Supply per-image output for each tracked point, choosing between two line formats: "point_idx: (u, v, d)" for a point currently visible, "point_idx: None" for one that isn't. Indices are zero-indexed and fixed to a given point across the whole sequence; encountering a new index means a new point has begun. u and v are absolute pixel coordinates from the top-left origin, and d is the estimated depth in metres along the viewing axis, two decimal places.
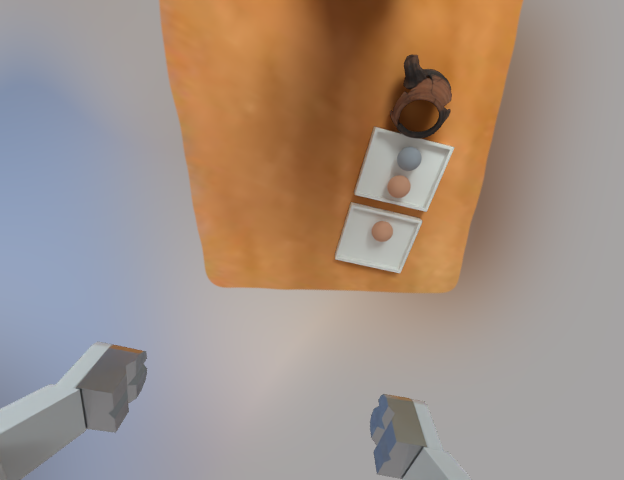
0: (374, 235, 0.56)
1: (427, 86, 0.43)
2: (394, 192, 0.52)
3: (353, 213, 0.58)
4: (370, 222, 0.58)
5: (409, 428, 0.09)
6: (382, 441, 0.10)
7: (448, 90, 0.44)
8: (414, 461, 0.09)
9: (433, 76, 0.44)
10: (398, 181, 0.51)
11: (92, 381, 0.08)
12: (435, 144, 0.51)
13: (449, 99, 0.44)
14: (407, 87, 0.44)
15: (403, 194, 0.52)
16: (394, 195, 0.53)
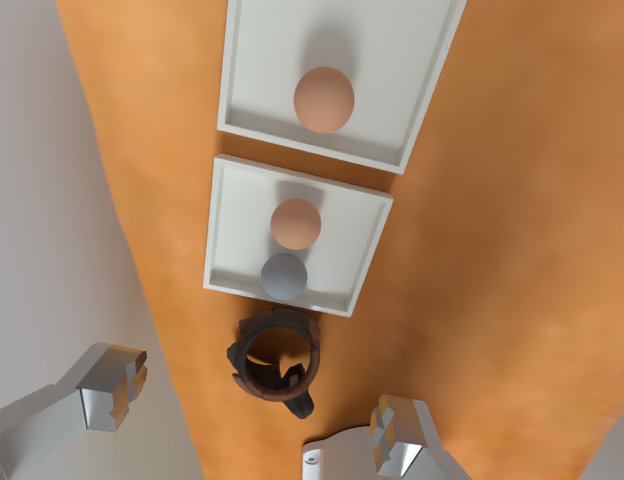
0: (350, 94, 0.18)
1: None
2: (309, 226, 0.22)
3: (395, 142, 0.23)
4: (350, 116, 0.22)
5: (409, 428, 0.09)
6: (382, 441, 0.10)
7: (241, 387, 0.28)
8: (414, 461, 0.09)
9: None
10: (301, 246, 0.23)
11: (92, 381, 0.08)
12: (239, 292, 0.27)
13: (235, 379, 0.27)
14: None
15: (286, 221, 0.22)
16: (306, 215, 0.22)
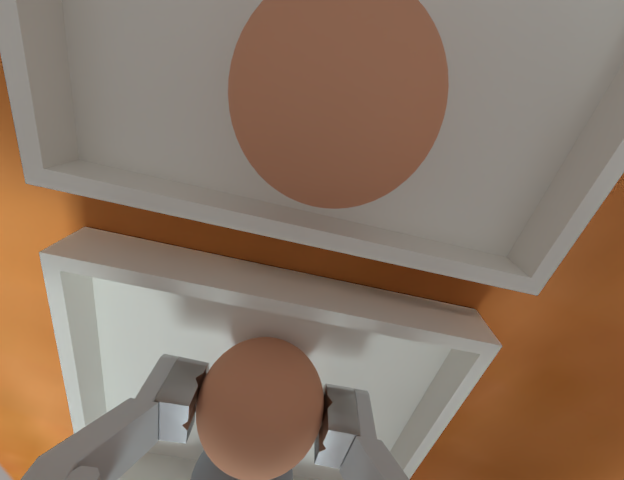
0: (443, 79, 0.05)
1: None
2: (292, 444, 0.08)
3: (515, 210, 0.09)
4: None
5: (345, 417, 0.09)
6: (321, 431, 0.09)
7: None
8: (349, 450, 0.09)
9: None
10: None
11: (168, 394, 0.08)
12: None
13: None
14: None
15: (228, 437, 0.08)
16: (284, 414, 0.08)
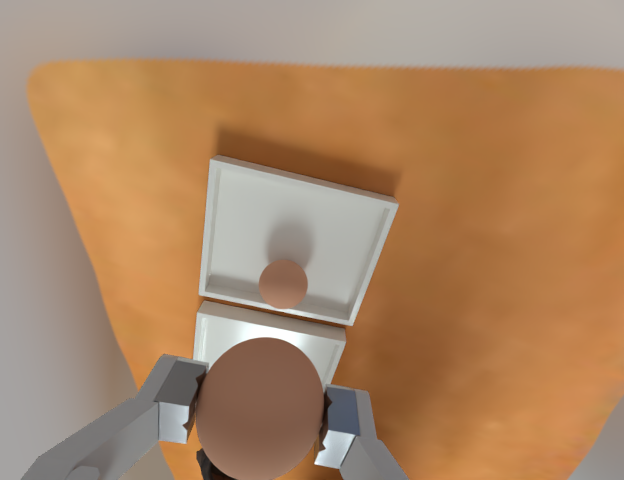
0: (302, 287, 0.23)
1: None
2: (292, 444, 0.08)
3: (346, 298, 0.27)
4: (308, 281, 0.27)
5: (345, 417, 0.09)
6: (321, 431, 0.09)
7: None
8: (349, 450, 0.09)
9: None
10: None
11: (168, 394, 0.08)
12: None
13: None
14: None
15: (228, 437, 0.08)
16: (284, 414, 0.08)
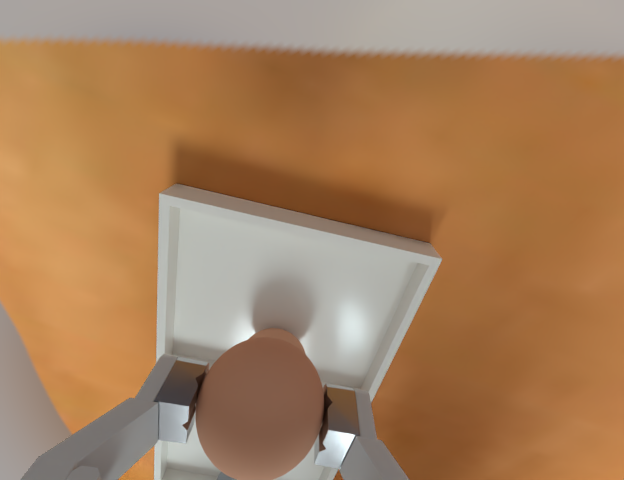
0: None
1: None
2: (292, 444, 0.08)
3: (359, 372, 0.20)
4: (308, 351, 0.19)
5: (345, 417, 0.09)
6: (321, 431, 0.09)
7: None
8: (349, 450, 0.09)
9: None
10: None
11: (168, 394, 0.08)
12: None
13: None
14: None
15: (228, 437, 0.08)
16: (284, 414, 0.08)
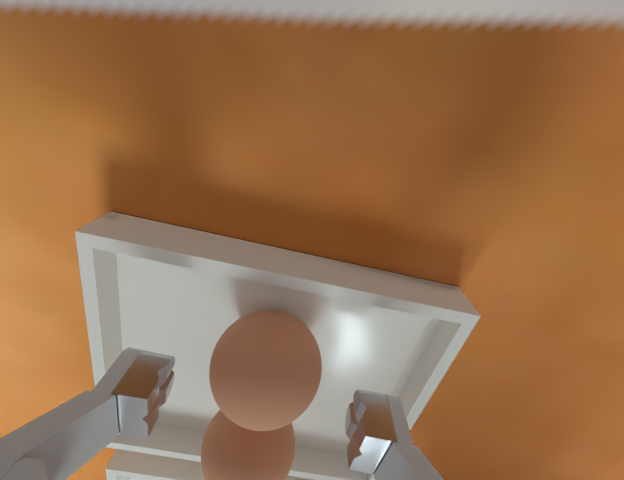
0: (283, 468, 0.12)
1: None
2: (292, 396, 0.09)
3: None
4: None
5: (380, 423, 0.09)
6: (354, 436, 0.09)
7: None
8: (384, 456, 0.09)
9: None
10: (276, 428, 0.10)
11: (127, 387, 0.08)
12: None
13: None
14: None
15: (237, 387, 0.09)
16: (285, 370, 0.09)
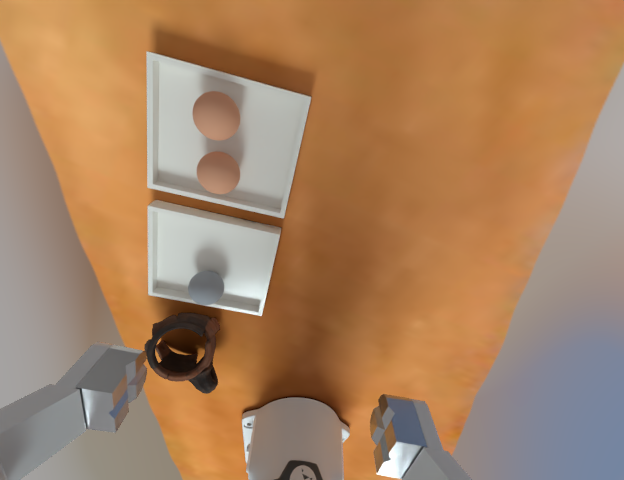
0: (232, 172, 0.27)
1: None
2: (216, 110, 0.24)
3: (278, 195, 0.32)
4: (244, 177, 0.31)
5: (409, 428, 0.09)
6: (382, 441, 0.10)
7: None
8: (414, 461, 0.09)
9: None
10: (212, 132, 0.25)
11: (92, 381, 0.08)
12: (175, 298, 0.37)
13: None
14: (205, 371, 0.38)
15: (198, 104, 0.24)
16: (215, 100, 0.24)
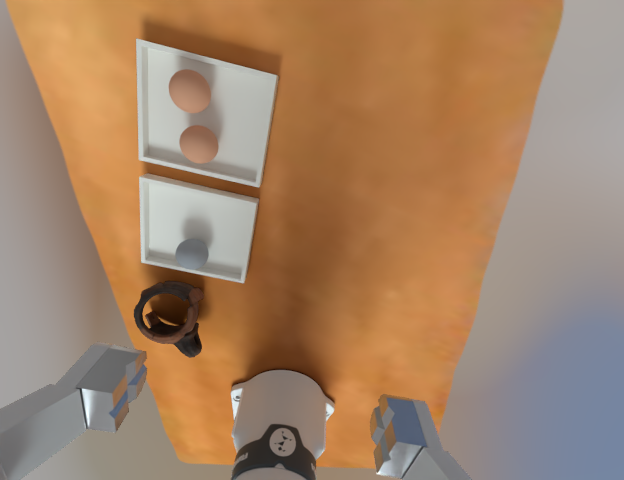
0: (210, 142, 0.31)
1: (168, 341, 0.41)
2: (181, 82, 0.28)
3: (254, 167, 0.35)
4: (224, 151, 0.35)
5: (409, 428, 0.09)
6: (382, 441, 0.10)
7: None
8: (414, 461, 0.09)
9: None
10: (180, 102, 0.29)
11: (92, 381, 0.08)
12: (165, 265, 0.40)
13: None
14: (189, 335, 0.42)
15: (171, 78, 0.29)
16: (183, 74, 0.28)
